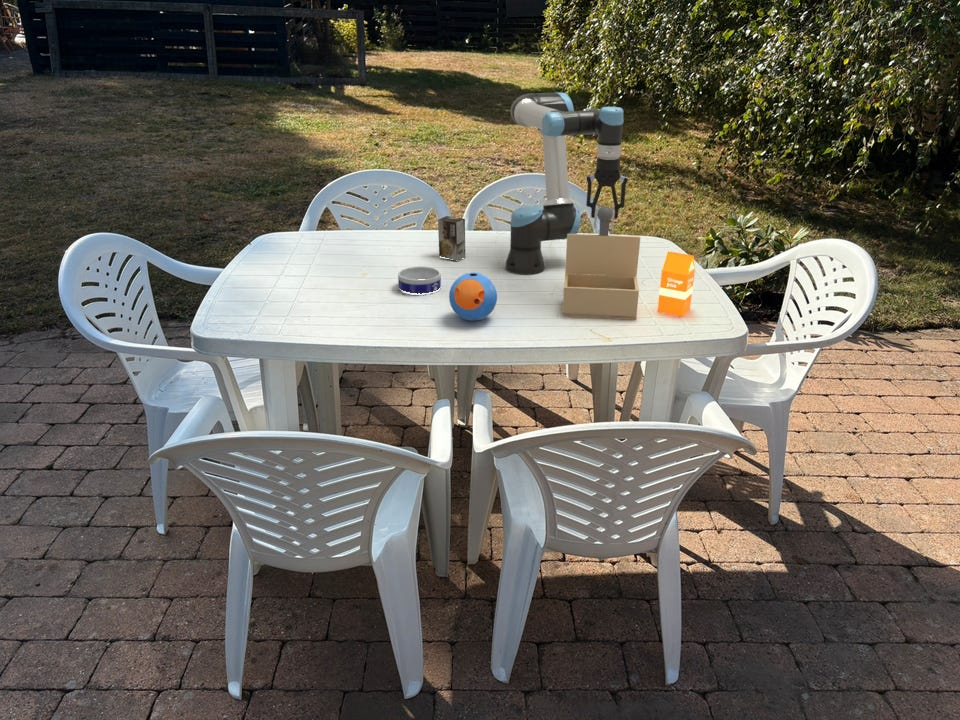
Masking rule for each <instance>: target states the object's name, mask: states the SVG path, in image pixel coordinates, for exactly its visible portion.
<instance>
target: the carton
mask: <svg viewBox="0 0 960 720" xmlns="http://www.w3.org/2000/svg"><path fill="white" fill-rule="evenodd" d="M639 289H640V288H639V284H638V277H637V276H635V277H634V276H611V275H590V274H567V273H564V283H563V299H562V301H563V302H562V317H570V316H571V317H573V318H574V317H575V318H576V317H577V318H590V317H594V318H593V319H596V318H597V319H611V318H615V319H614V320H634V321H635V320H637V313H638V303H639V295H640V294H639V293H640V290H639Z"/></svg>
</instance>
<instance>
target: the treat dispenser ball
mask: <svg viewBox="0 0 960 720" xmlns="http://www.w3.org/2000/svg"><path fill="white" fill-rule="evenodd" d="M448 294H449V296H448V299H449V301H448V302H449V304H450V307H451V308H452V309H451V310H452V311H453V312H454V313H455V314H456V316H458V317H459V318H461V319H463V320H465V321H470V322H472V321H473V322H476V321H481V320H483V319H485V318H487V317H488V316H489V315H491V314H492V312H493V311H494V309H495V307H496V305H497V301H498V292H497V288H496V286H495V284H494V283H493V281H492V280H491V279H490V278H489V277H488V276H487V275H484V274H482V273H479V272H467V273H465V274H462V275H460V276H459V277H458V278H456V279H455V280H454V282H453V283H452V285H451V286H450V289H449V293H448Z"/></svg>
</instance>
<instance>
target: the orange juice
mask: <svg viewBox="0 0 960 720" xmlns="http://www.w3.org/2000/svg"><path fill="white" fill-rule="evenodd" d="M695 265H696V264H695V258H694V255H691V254H685V253H681V252H673V251H669V250H668V251H667V253H666V256H665V260H664V263H663V266H662V270H661V276H660V284H659V286H660V287H659V293H658V304H657V312H659V313H664V314H668V315H671V316H676V317H684V316H685V315H686V314H687V313H688V312H689V311H690V310H691V305H692V296H693V290H694V281H695V279H694V278H695V273H696V267H695Z"/></svg>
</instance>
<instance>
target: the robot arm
mask: <svg viewBox="0 0 960 720" xmlns="http://www.w3.org/2000/svg"><path fill="white" fill-rule="evenodd" d="M510 117H511V119H512V121H513V122H514V123H515V124H516V125H519V126H521V127H525V128H527V127H533V128H535V129H537V132H538V133H539V134H540V135H541V137H542V152H543V165H544V168H543V169H544V177H545V178H544V179H545V181H544V182H545V193H546V195H545V196H546V201H545V202H544V203H543V205H542V206H543V207H542V208H543V209H542V208H541V207H540V206H537V205H533V206H532V205H527V206H525V205H524V206H521V207H519V208H516V209H514V210H513V211H512V213H511V215H510V217H511V218H510V249H509V251H508V255H507V257H506V261H505V270H506V271H507V270H508V272H509V271H510V273H513V274H516V273H517V274H518V275H534V274H535V275H536V274H540V273H542V272H543V271H544V270H546V269H545V264H546V263H545V259H544V257H543V252H542V248H541V247H542V242H547V241H556V240H557V241H558V240H567V234H579V233H578V232H579V230H580V227H581V213H580V210H579V208H577V207H575V204H574V202H573V200H572V199H570V190H569V188H570V187H569V174H568V158H567V144H566V143H567V142H566V136H581V135H596V136H597V137H598V138H597V151H596V152H597V153H596V156H597V158H596V165H595V166H596V167H595V172H594V174H592V175H587V176H586V182H587V191H586V192H587V193H586V203H585V204H586V207H588V208H591V212H590V217H591V219H593V229H597V219H598V216H597V213H598V207H597V204H598V200H599V198H600V195H601V192H602V190H603V187H609V188H610V189H611V194H612V195H611V196H612V199H613V206H614V207H612V208H611V210H612V212H613V216H612V218H611V219H610V220H611V222H610V229H611V230H614V226H615V219H618V217H619V210H620V209H621V208H622V209H623V208H625V201H626V200H625V199H626V186H627V183H628V181H629V179H628V176H623V175H622V174H621V173H620V167H621V165H620V164H621V158H620V157H621V153H622V138H623V131H624V130H623V128H624V109H623V108H622V107H619V106H618V107H617V106H603V107H601V108H600V109H599V108H588V109H585V110H574V104H573V101H572V99H571V97H570V96H569V95H568V94H567V93H565V92H557V91H554V92H536V93H533V92H532V93H525V94H521V95H520V96H518V97H517V98H516V99H514V101H513V102H512V104H511V108H510ZM594 179H595V180H596V182H597V183H598V185H597V188H596V190H595V194H594V197H593V199H592V184H593V182H594ZM619 180H620V183H621V185H620V187H621V188H620V201H619V202H620V203H619V202H618V196H617V191H616V185H615V184H616V183H618V181H619ZM591 199H592V200H593V201H592V202H591ZM517 274H516V275H517Z"/></svg>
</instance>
